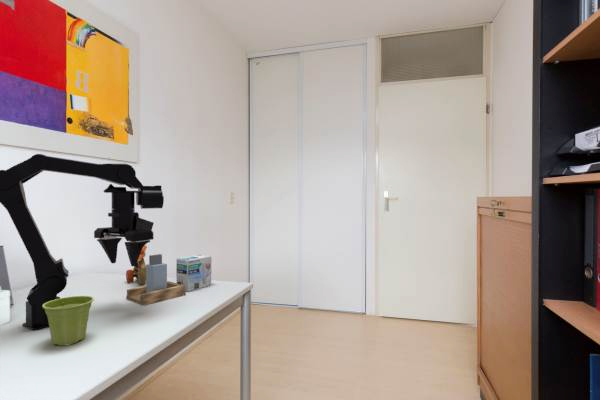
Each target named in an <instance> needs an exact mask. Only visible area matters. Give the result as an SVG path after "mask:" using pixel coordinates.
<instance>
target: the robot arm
mask: <svg viewBox="0 0 600 400" xmlns="http://www.w3.org/2000/svg"><path fill="white" fill-rule="evenodd" d="M43 172H51V173H59V174H60V173H61V174H66V175H74V176H81V177H88V178H95V179H99V180H101V181H105V182H109V183H110V184H108V186H107V188H105V189H104V190H103V193H106V194H111V212H108V213H107V216H108V217H110V218H111V226H110V227H107V226H106V227H97V228H96V229H95V230H94V231H93V239H96V241H97V242H98V243H99V244H100V246H101V248H102V249H103V251H104V252H105V254H106V256H107V258H108V260H109V262H110V263H111V264H116V262H117V257H118V247H119V246H118V245H119V243H120V242H121V241H122V240H123V238H124V239H125V240H126V241H125V242H124V245H125V249H126V252H127V257H128V260H129V262H130V266H131V267H134V266H136V264H137V261H138V258H139V256H140V253H141V250H142V248H143V246H144V245H145V246H146V245H148V243H151V240H154V231H153V230H152V229H153V226H154V224H155V223H154V222H153V221H150V220H147V219H144V218H142V217H140V213H139V212H138V211H137V212H135V202H136V206H140V209H163V207H164V202H165V201H164V199H165V198H164V194H163V190H162V185H144V184H142V182H141V181H140V180H139V178H138V177H137V176H136V169H135V168H134V167H133V166H132V165H131V164H128V163H95V162H94V163H93V162H89V161H83V160H82V161H81V160H77V159H69V158H62V157H56V156H51V155H46V154H44V153H43V154H42V153H37V154H36V153H35V154H33V155H32V156H31V157H29V158H27V159H26V160H24V161H21V162H20V163H19V162H18V163H17V164H15V165H13V166H12V167H10V168H7V169H0V204H1V205H2V207H4V208H5V209H6V211H7V214H9V216H10V219H11V221H12V223H13V225H14V227H15V229H16V231H17V233H18V235H19V237H20V239H21V240H22V242H23V246H24V247H25V249H26V251H27V252H28V253H27V254H28V255H29V257H30V259H31V261H32V264H33V269H34V276H35V279H36V284H35V285H33V287H32V288H31V289H29V292H28V294H27V296H26V300H27V301H25V322H23V323H22V327H26V328H27V329H30V330H33V331H37V330H41V329H44V328H47V327H49V322H48V317H47V314H46V313H45V309H44V308H43V307H42V305H43V304H44V303H46V302H49V301H52V300H55V299H60V298H61V297H60V296H57V295H58V294H60V293H61V292H63V291H64V290H65V288H66V287H67V282H68V277H69V270H68V269H67V268H66V267H65V264H64V260H63V258H60V259H58V260H56V259H55V258H54V256H52V254H51V252H50V249H48V246H47V244H46V242H45V240H44V238H43V236H42V233H41V232H40V229H39V227H38V225H37V223H36V221H35V219H34V217H33V215H32V213H31V210H30V208H29V207H28V203H27V198H26V192H25V188H24V184H25V183H27V182H28V181H29V180H31V179H33V178H34V177H36V176H38V175H40V174H41V173H43ZM113 184H114V185H115V184H116V185H120V186H114V185H113ZM126 186H127V187H128V188H129V189H132V190H127V187H126ZM135 189H136V190H135Z"/></svg>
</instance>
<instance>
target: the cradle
mask: <svg viewBox="0 0 600 400" xmlns="http://www.w3.org/2000/svg"><path fill="white" fill-rule="evenodd" d="M186 292H187V291H185V285H181V284H177V282H173V281H169V280H167V288H166V289H162V290H157V291H153V292H148V293H146V285H142V286H138V287H133V288H129V289H128V288H127V289H126V300H129V301H130V302H133V303H136V304H139V305H142V306H143V307H144V306H147V305H152V304H154V303H160V302H164V301H168V300H171V298H172V299H175V297H176V298H179V296H180V297H183V295H184V296H186V295H187V293H186Z"/></svg>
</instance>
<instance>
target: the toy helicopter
mask: <svg viewBox="0 0 600 400" xmlns="http://www.w3.org/2000/svg"><path fill="white" fill-rule="evenodd" d="M147 248H148V246H147V245H146V244H145V245H144V246H143V248H142V250H141V253H140V256H139V258H138V261H137V264H136V266H133V268H132V269H127V270H126V272H125V280H126V282H127V283H128V284H130V283H133V282H134V278H135V279H136V280H137V281H138V283H139V285H145V284H146V262H145V257H146V254H147V253H146V250H147Z"/></svg>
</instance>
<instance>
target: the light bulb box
mask: <svg viewBox="0 0 600 400" xmlns="http://www.w3.org/2000/svg"><path fill="white" fill-rule="evenodd" d="M176 283H177V284H181V285H185V292H188V291H189V292H192V291H196V290H200V289H203V288H202V287H204V288H207V287H210V286H209V285H211V286H212V256H211V255H205V254H204V255H203V254H196V255H189V256H185V257H179V258H176ZM206 286H207V287H206ZM199 288H200V289H199ZM195 289H196V290H195Z"/></svg>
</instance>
